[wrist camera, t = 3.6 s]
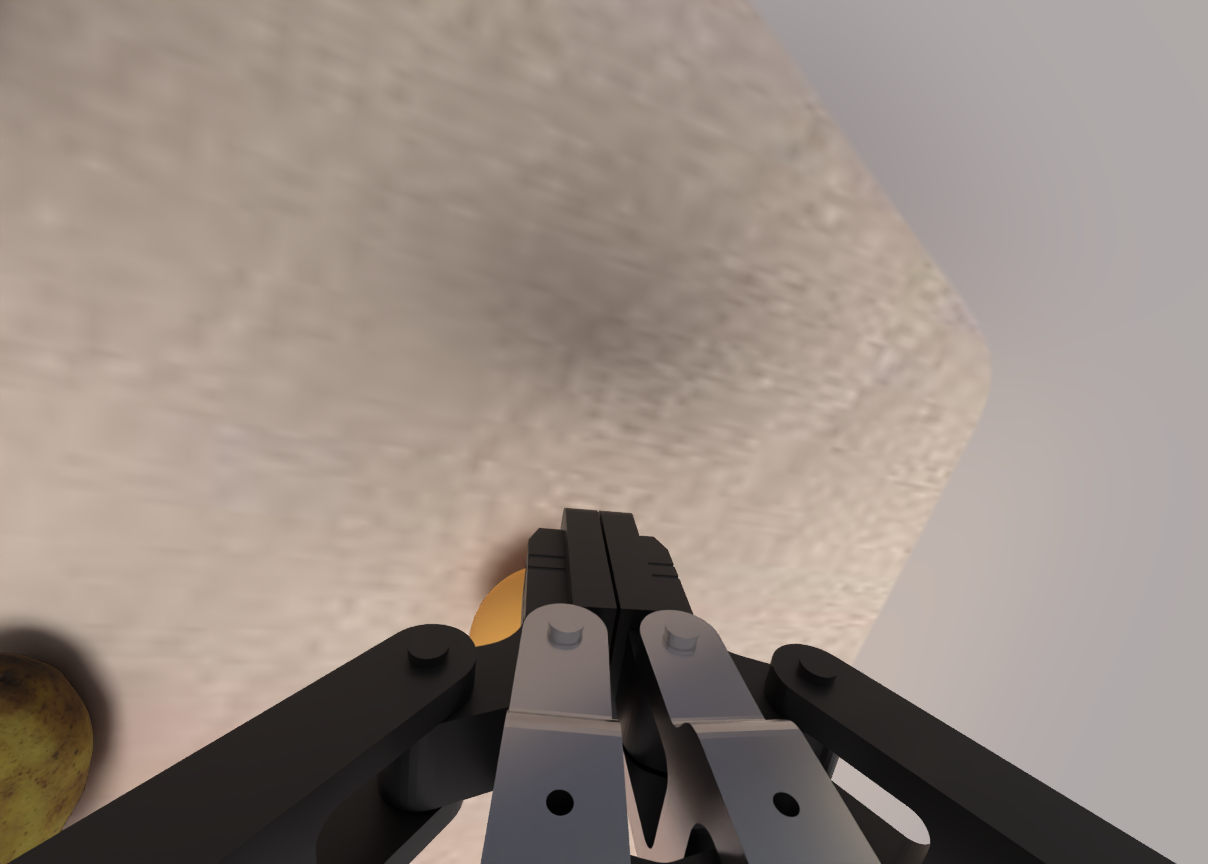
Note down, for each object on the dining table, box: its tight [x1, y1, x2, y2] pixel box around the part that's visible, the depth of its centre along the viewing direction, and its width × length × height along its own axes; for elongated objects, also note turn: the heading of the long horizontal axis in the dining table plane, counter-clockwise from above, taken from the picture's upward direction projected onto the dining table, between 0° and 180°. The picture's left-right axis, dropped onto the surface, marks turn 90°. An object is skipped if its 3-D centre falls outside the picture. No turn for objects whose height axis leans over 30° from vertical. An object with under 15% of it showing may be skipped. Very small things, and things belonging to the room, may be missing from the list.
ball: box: [469, 568, 526, 647], centre depth 22 cm, size 6×6×6 cm
